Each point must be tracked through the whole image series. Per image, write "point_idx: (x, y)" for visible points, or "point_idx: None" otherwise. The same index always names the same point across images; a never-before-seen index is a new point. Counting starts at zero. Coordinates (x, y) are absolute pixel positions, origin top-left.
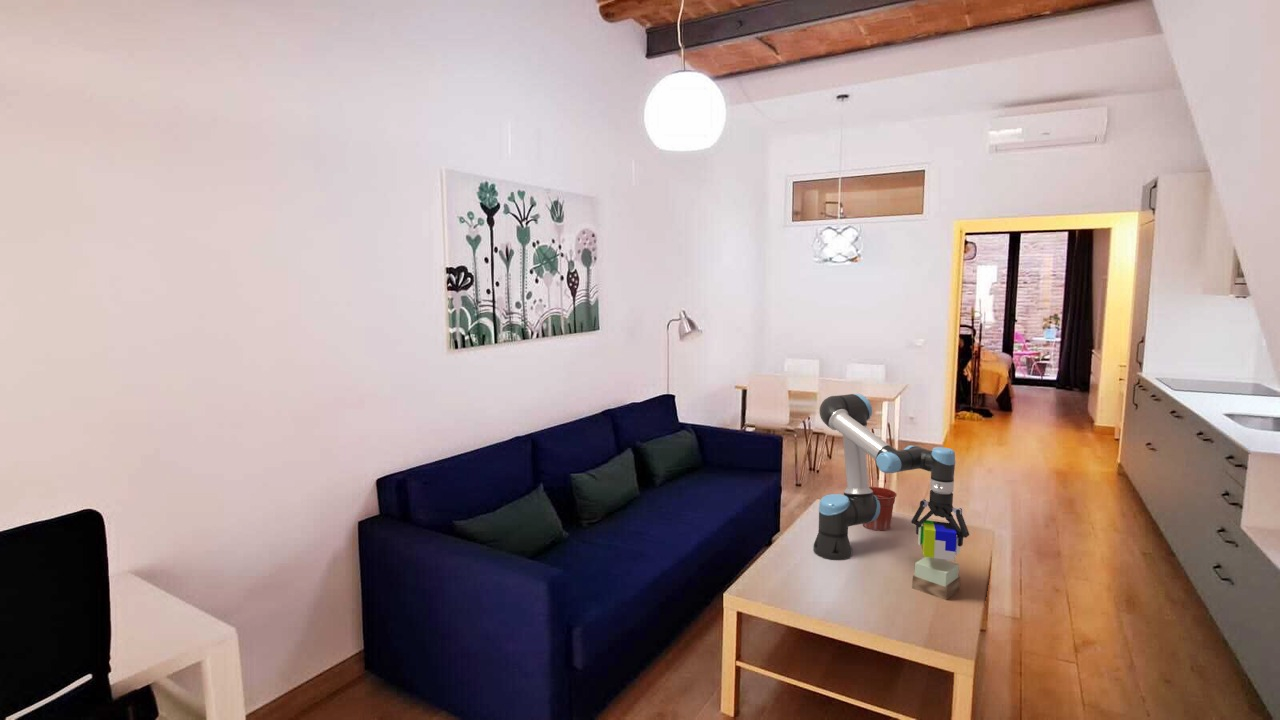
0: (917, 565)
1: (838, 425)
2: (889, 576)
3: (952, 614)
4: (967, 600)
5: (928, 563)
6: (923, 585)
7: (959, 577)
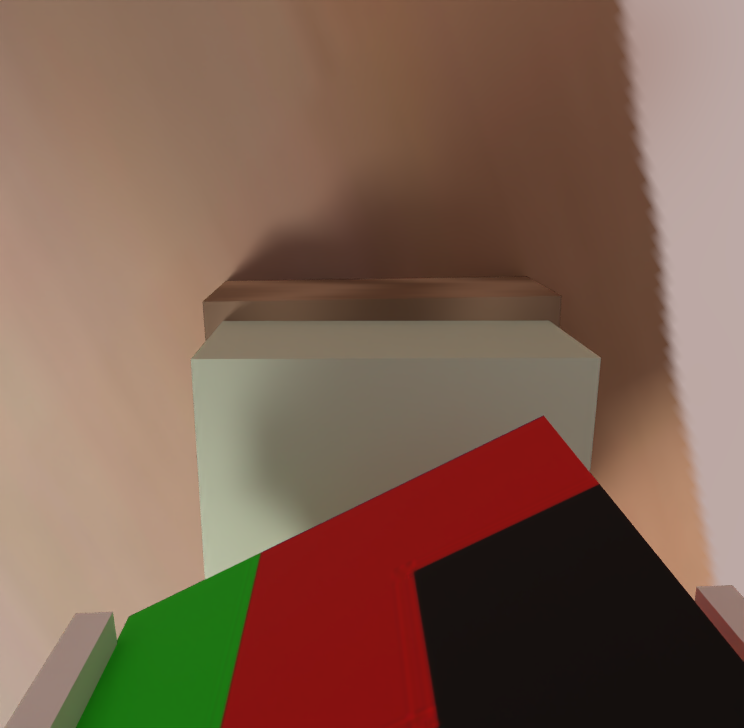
0: None
1: None
2: (4, 495)
3: None
4: (639, 429)
5: None
6: None
7: (559, 313)
